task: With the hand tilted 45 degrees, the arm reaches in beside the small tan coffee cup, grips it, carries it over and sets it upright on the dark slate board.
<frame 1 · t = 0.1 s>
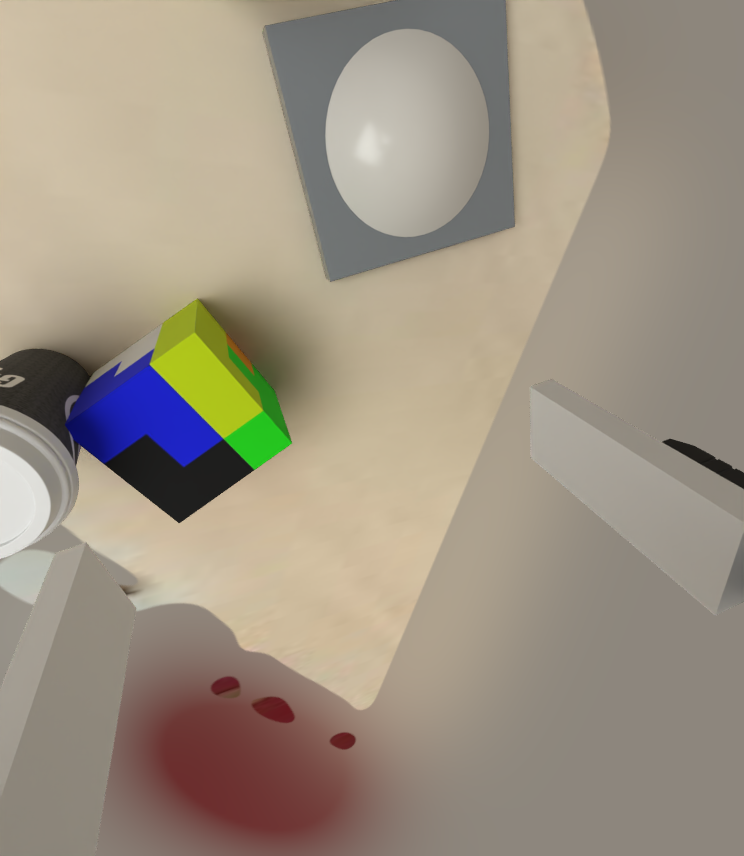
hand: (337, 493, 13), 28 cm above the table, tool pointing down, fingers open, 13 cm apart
slate board: (403, 144, 35), on the table
coffee cup: (46, 388, 35), on the table
puzzle toy: (190, 381, 38), on the table
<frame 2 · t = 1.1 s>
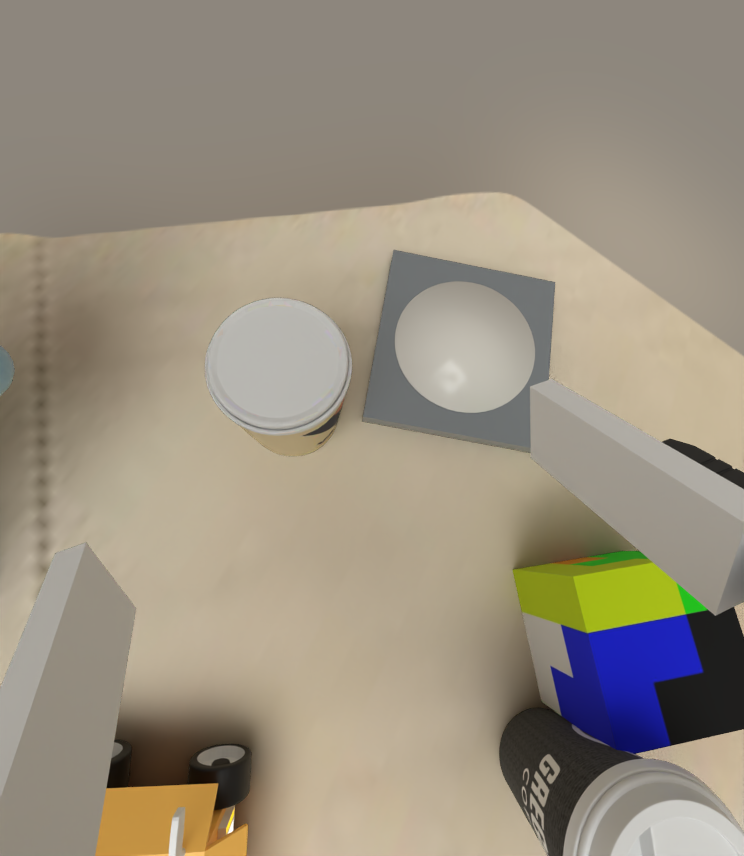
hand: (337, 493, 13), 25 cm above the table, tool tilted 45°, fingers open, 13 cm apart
slate board: (460, 352, 43), on the table
coffee cup: (539, 754, 35), on the table
coffee cup 2: (294, 415, 40), on the table
puzzle toy: (582, 622, 37), on the table
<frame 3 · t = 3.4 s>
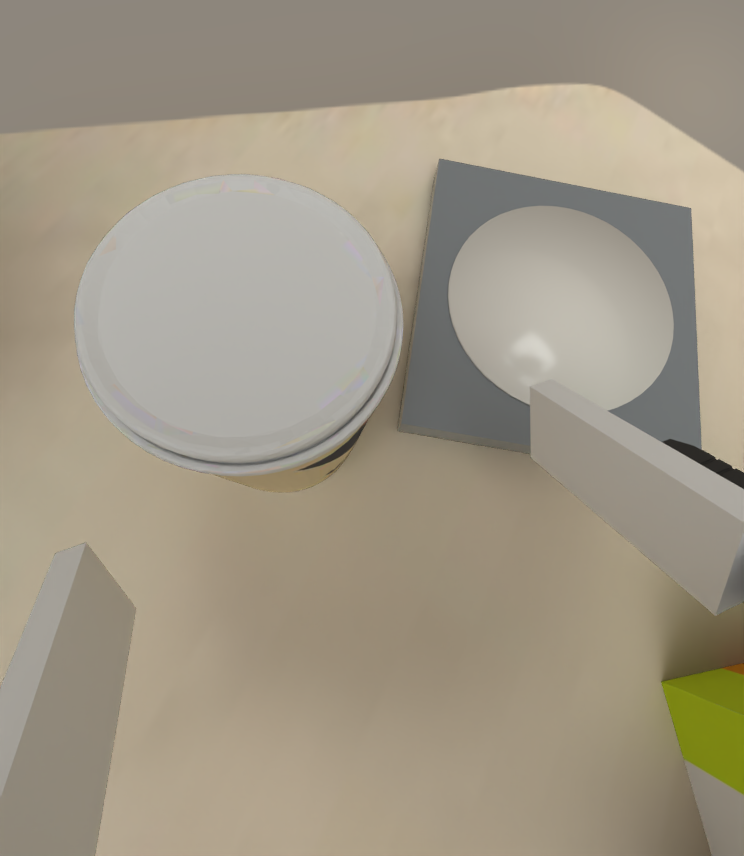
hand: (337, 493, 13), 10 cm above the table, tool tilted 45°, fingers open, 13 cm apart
slate board: (548, 318, 27), on the table
coffee cup 2: (285, 421, 24), on the table
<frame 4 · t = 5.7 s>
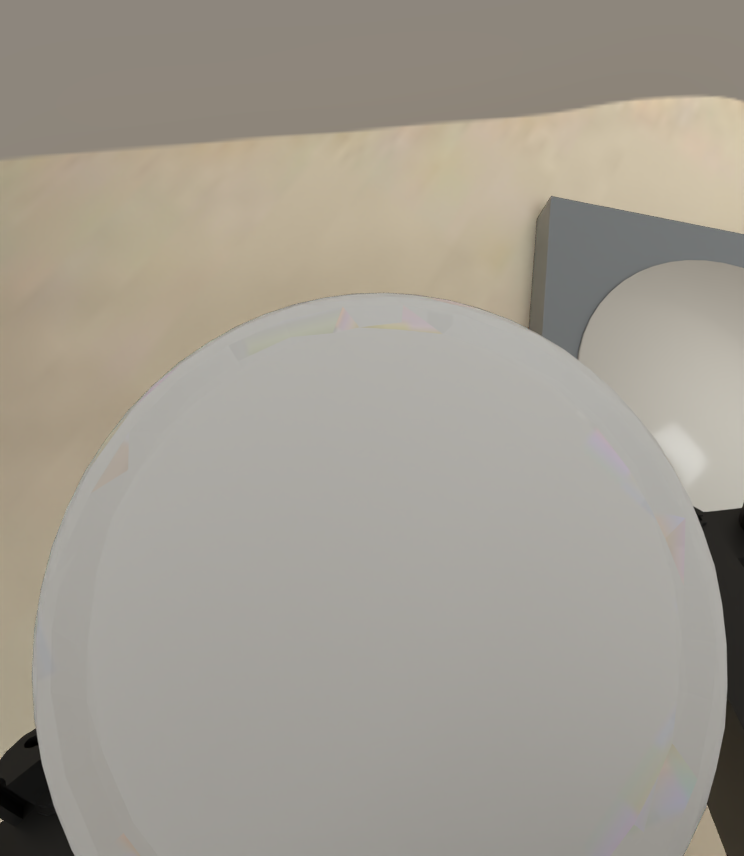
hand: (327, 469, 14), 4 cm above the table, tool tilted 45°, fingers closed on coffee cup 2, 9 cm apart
slate board: (699, 409, 20), on the table
coffee cup 2: (357, 565, 17), on the table, touching gripper
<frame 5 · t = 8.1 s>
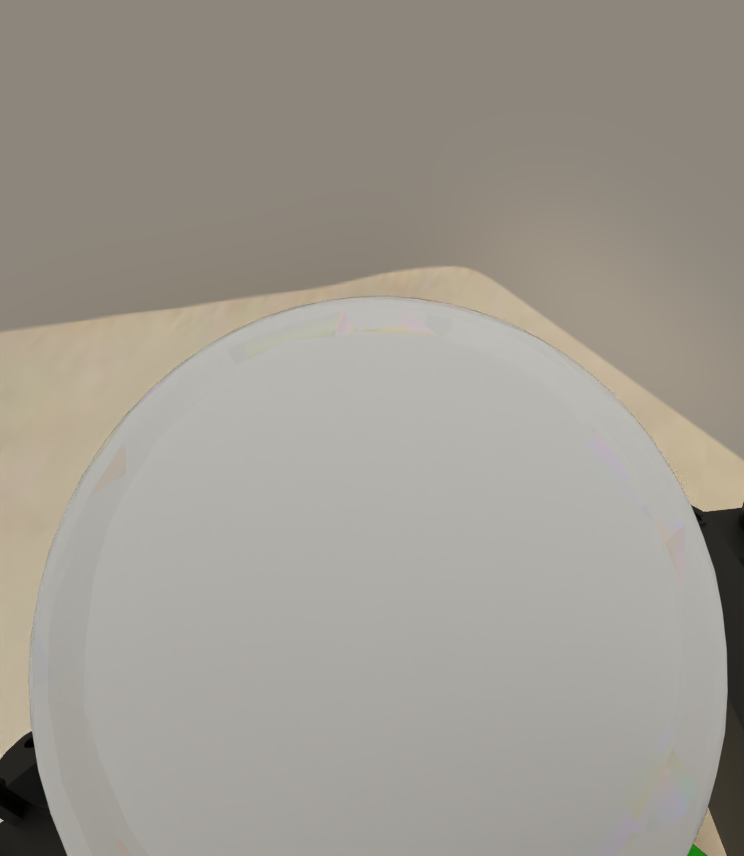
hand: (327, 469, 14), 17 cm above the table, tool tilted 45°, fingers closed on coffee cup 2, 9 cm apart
coffee cup 2: (356, 567, 17), point 13 cm above the table, touching gripper
when the fingers open (6 cm above the table, at t = 10.8 s): coffee cup 2 moves 3 cm, point 2 cm above the table.
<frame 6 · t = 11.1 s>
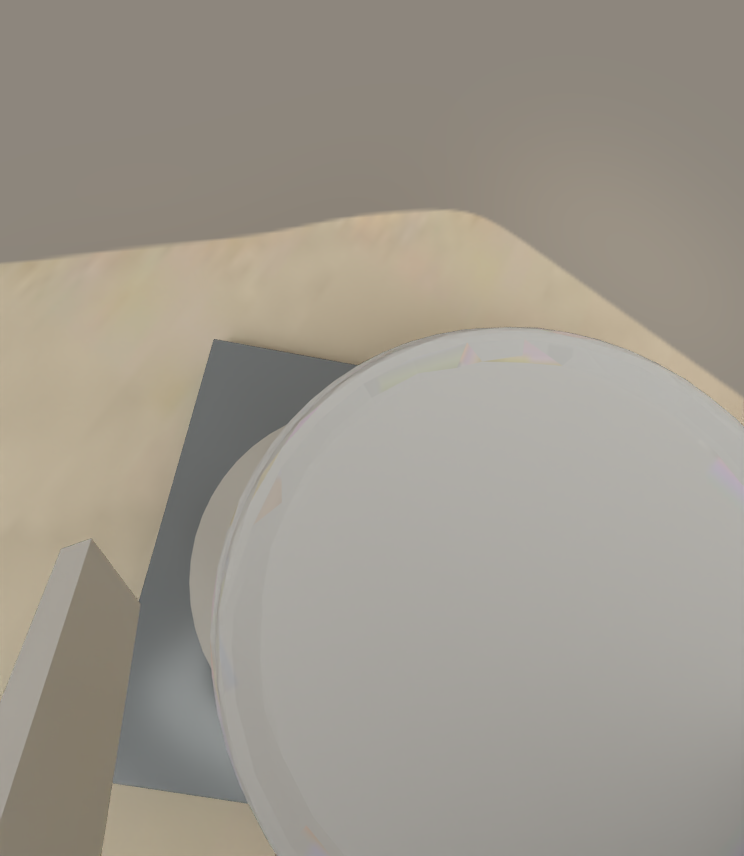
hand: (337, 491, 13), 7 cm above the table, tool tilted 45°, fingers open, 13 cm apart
slate board: (356, 563, 20), on the table
coffee cup 2: (424, 561, 18), point 2 cm above the table, touching gripper
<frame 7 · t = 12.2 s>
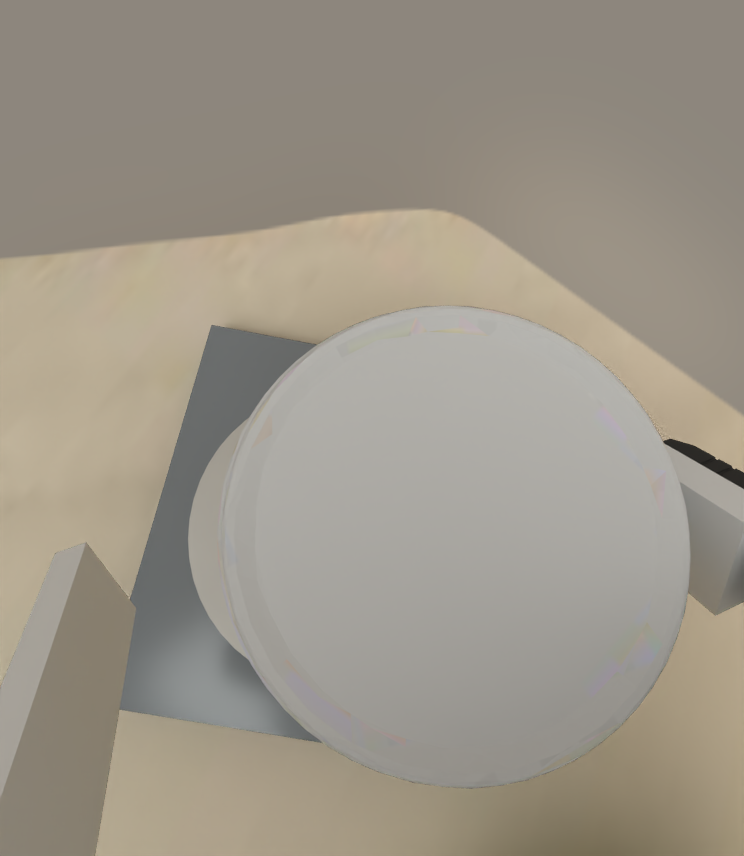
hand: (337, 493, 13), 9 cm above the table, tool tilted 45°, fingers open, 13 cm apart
slate board: (338, 526, 22), on the table
coffee cup 2: (402, 522, 20), point 2 cm above the table, touching gripper, slate board
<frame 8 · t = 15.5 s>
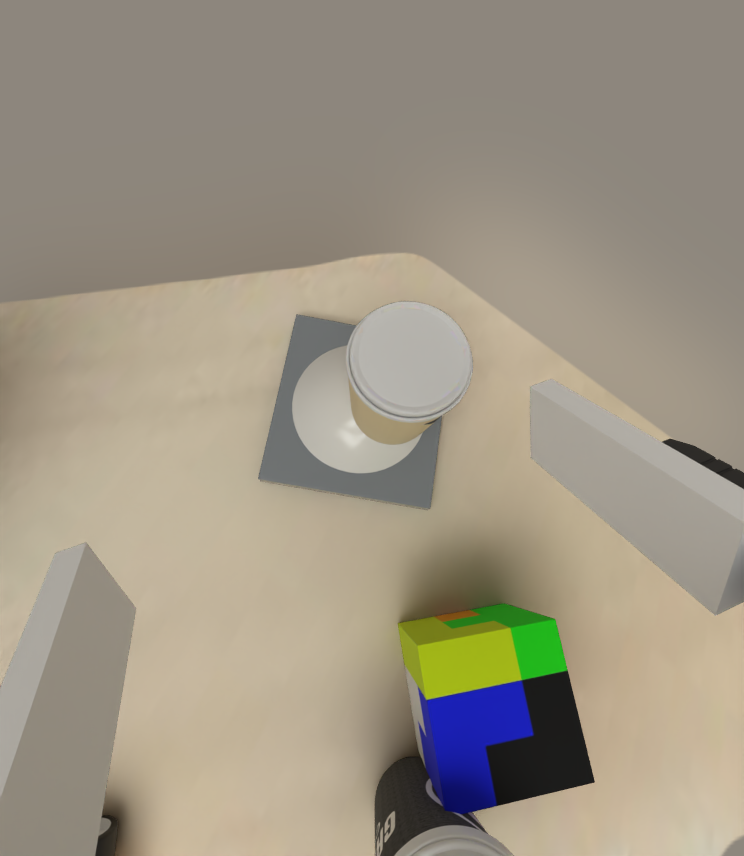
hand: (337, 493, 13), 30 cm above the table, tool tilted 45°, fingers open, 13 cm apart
slate board: (359, 411, 45), on the table
coffee cup: (413, 801, 37), on the table
coffee cup 2: (390, 407, 44), point 2 cm above the table, touching slate board
puzzle toy: (462, 672, 40), on the table
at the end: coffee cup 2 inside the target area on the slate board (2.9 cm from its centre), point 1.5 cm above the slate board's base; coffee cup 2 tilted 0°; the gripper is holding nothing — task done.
